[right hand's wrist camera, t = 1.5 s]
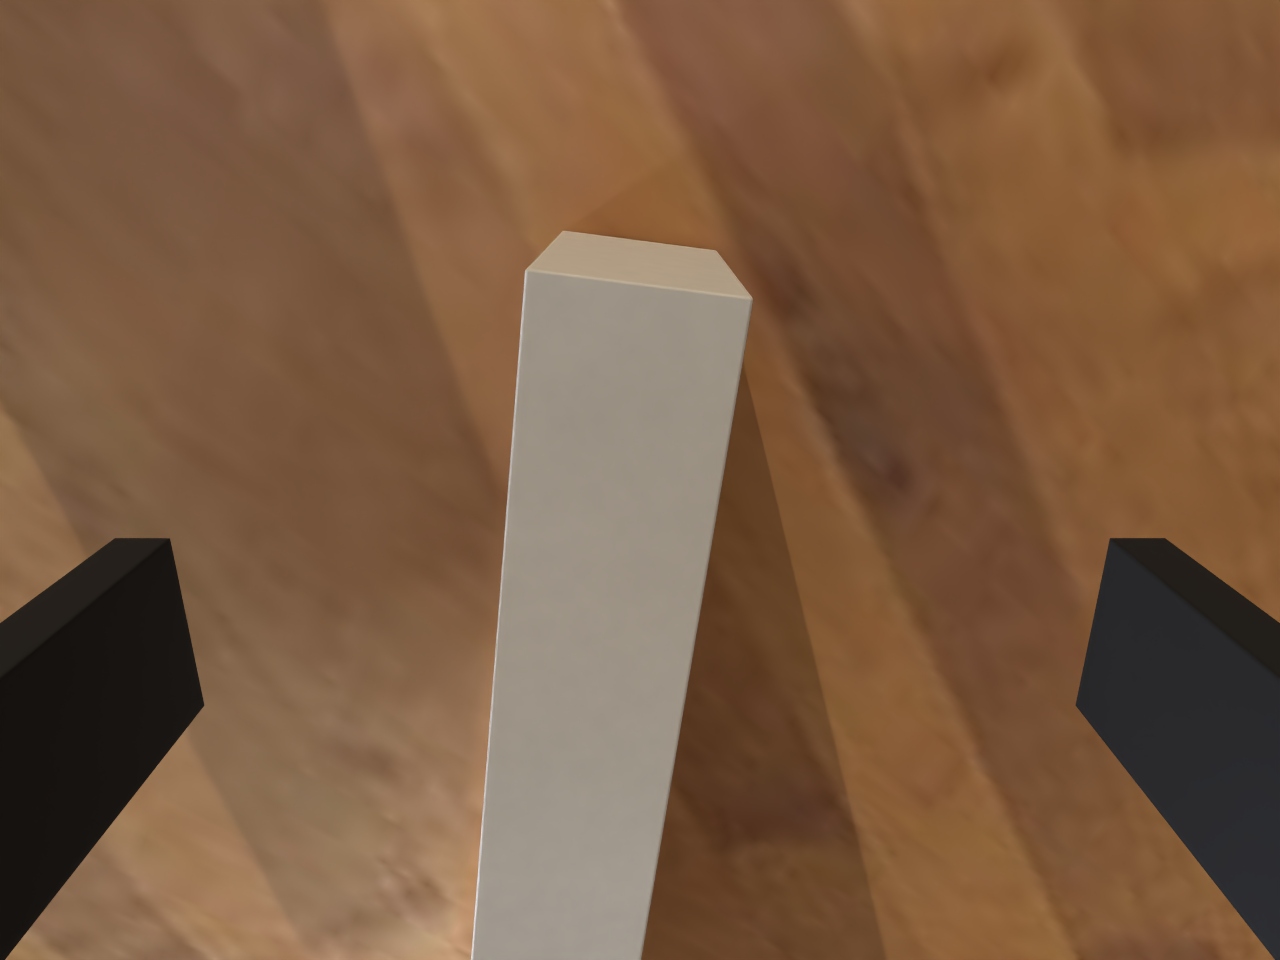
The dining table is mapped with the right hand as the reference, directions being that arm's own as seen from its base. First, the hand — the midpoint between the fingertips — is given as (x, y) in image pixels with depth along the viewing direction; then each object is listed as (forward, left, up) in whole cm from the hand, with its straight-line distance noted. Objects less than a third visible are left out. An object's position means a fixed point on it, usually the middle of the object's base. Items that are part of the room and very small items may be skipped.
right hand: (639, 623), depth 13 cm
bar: (-9, -25, -14) cm, 30 cm away
